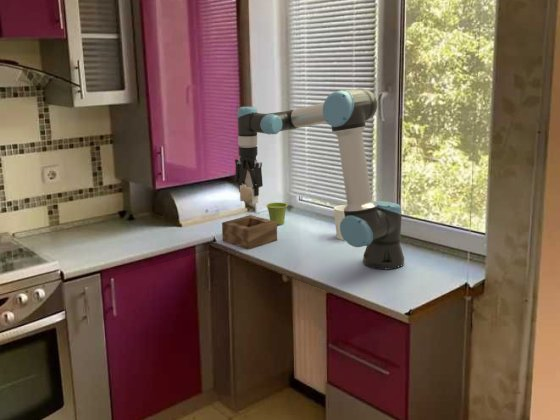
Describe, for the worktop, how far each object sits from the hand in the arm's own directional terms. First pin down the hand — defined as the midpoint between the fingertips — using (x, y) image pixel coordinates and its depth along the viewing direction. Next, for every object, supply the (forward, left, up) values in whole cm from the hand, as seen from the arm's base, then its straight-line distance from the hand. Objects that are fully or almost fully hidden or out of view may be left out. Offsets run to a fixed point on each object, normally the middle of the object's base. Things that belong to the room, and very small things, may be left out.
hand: (249, 201), depth 263 cm
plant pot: (+10, -26, -17) cm, 32 cm away
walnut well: (0, 0, -17) cm, 17 cm away
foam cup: (-26, -30, -17) cm, 43 cm away
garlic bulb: (0, 0, -1) cm, 1 cm away
